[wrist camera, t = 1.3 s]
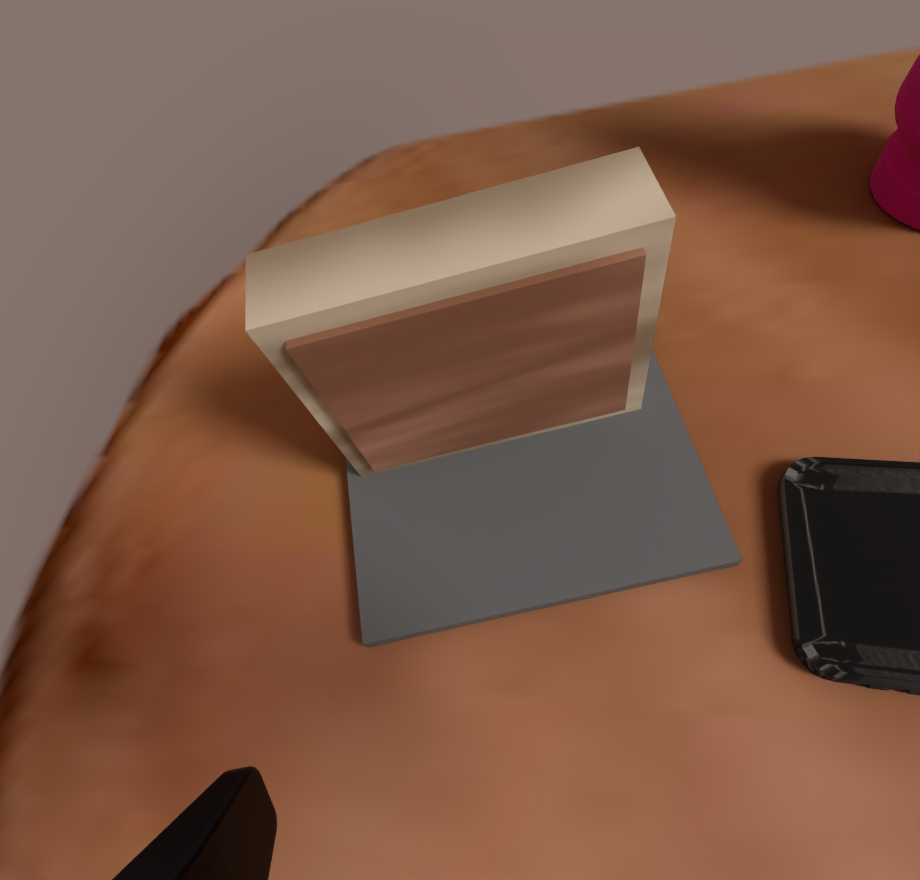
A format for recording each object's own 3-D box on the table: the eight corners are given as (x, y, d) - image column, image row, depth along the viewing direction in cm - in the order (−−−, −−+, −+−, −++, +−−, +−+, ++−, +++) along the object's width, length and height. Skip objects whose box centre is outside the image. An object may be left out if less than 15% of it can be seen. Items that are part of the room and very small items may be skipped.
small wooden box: (643, 415, 24) (680, 224, 15) (362, 483, 25) (245, 338, 16) (618, 351, 26) (638, 146, 17) (355, 417, 26) (245, 254, 18)
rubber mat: (738, 564, 21) (742, 560, 21) (367, 647, 22) (362, 644, 22) (574, 177, 32) (574, 167, 31) (329, 244, 33) (325, 236, 32)
